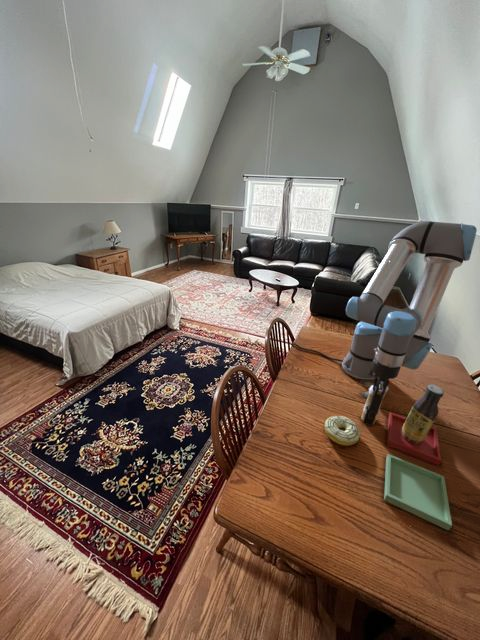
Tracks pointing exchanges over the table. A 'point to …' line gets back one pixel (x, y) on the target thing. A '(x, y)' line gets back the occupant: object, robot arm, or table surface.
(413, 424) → the sauce bottle
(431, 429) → the red tray
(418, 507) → the green tray
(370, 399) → the sprinkles bottle
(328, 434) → the decorated donut
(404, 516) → the table surface
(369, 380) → the eagle figurine
